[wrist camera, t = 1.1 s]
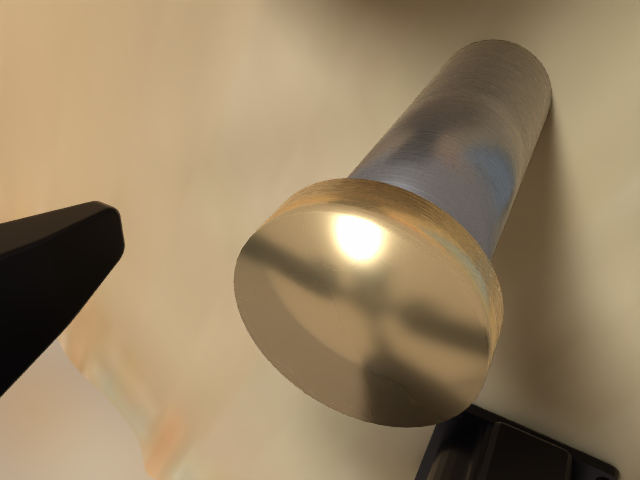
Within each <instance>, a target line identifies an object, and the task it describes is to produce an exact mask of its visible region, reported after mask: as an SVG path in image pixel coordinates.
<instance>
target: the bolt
mask: <svg viewBox="0 0 640 480" xmlns="http://www.w3.org/2000/svg"><path fill="white" fill-rule="evenodd" d="M550 105H551V84H550V80H549V77H548V75H547V72H546V70H545V68H544V67H543V65H542V64H541V62H540V61H539V60H538V59H537V58H536V57H535V56H534V55H533V54H532V53H531V52H529V51H528V50H526V49H525V48H523V47H521V46H519V45H517V44H514V43H511V42H508V41H502V40H485V41H480V42H476V43H473V44H470V45H468V46H466V47H464V48H463V49H461V50H460V51H458V52H457V53H456V54H455V55H454V56H452V57H451V58H450V60H449V61H448V62H447V63H446V64H445V65H444V67H443V68H442V69H441V70H440V71H439V72H438V73H437V75H436V76H435V77H434V78H433V79H432V80H431V82H430V83H429V84H428V85H427V86H426V87H425V89H424V90H423V91H422V92H421V93H420V94H419V96H418V97H417V98H416V99H415V100H414V101H413V102H412V104H411V105H410V106H409V107H408V108H407V109H406V111H405V112H404V113H403V114H402V115H401V116H400V118H399V119H398V120H397V121H396V122H395V123H394V124H393V126H392V127H391V128H390V129H389V130H388V131H387V133H386V134H385V135H384V136H383V137H382V138H381V140H380V141H379V142H378V143H377V144H376V145H375V146H374V148H373V149H372V150H371V151H370V152H369V153H368V155H367V156H366V157H365V158H364V159H363V160H362V162H361V163H360V164H359V165H358V166H357V167H356V168H355V170H354V171H353V172H352V173H351V174H350V175H349V177H348V178H343V179H333V180H327V181H323V182H319V183H315V184H313V185H310V186H308V187H306V188H303V189H302V190H300V191H298V192H297V193H295V194H294V195H292V196H291V197H290V198H289V199H288V200H287V201H286V202H285V203H283V204H282V205H281V206H280V207H279V209H278V210H277V211H276V212H275V213H274V214H273V215H272V216H271V217H270V218H269V219H268V220H267V221H266V222H265V223H264V224H263V225H262V226H261V227H260V228H259V229H258V230H257V231H256V232H255V233H254V234H253V235H252V236H251V237H250V238H249V240H248V241H247V243H246V244H245V245H244V247H243V248H242V250H241V252H240V254H239V257H238V259H237V263H236V267H235V272H234V291H235V297H236V302H237V306H238V309H239V312H240V315H241V318H242V320H243V322H244V324H245V326H246V328H247V331H248V332H249V334H250V336H251V337H252V339H253V341H254V342H255V344H256V345H257V346H258V348H259V349H260V350H261V352H262V353H263V354H264V356H265V357H266V358H267V359H268V360H269V361H270V362H271V364H272V365H273V366H274V367H275V368H276V369H277V370H278V371H279V372H280V373H281V374H282V375H283V376H285V377H286V378H287V379H288V380H289V381H291V382H292V383H293V384H294V385H295V386H297V387H298V388H299V389H301V390H302V391H304V392H305V393H306V394H308V395H309V396H311V397H313V398H314V399H316V400H317V401H319V402H321V403H323V404H324V405H326V406H328V407H330V408H332V409H334V410H336V411H339V412H341V413H343V414H346V415H348V416H351V417H354V418H357V419H360V420H363V421H366V422H370V423H374V424H379V425H385V426H391V427H423V426H429V425H434V424H437V423H441V422H444V421H447V420H449V419H451V418H453V417H455V416H457V415H459V414H460V413H461V412H463V411H464V410H465V409H467V408H468V407H469V406H470V405H471V404H472V402H473V401H474V400H475V399H476V398H477V396H478V394H479V393H480V391H481V389H482V388H483V385H484V382H485V379H486V376H487V372H488V369H489V366H490V363H491V360H492V357H493V354H494V350H495V347H496V344H497V341H498V338H499V335H500V331H501V328H502V323H503V315H504V310H503V297H502V292H501V288H500V284H499V281H498V278H497V276H496V273H495V271H494V268H493V267H492V265H491V263H490V262H491V259H492V257H493V254H494V252H495V249H496V246H497V244H498V241H499V239H500V236H501V233H502V231H503V228H504V226H505V223H506V221H507V218H508V215H509V213H510V210H511V208H512V205H513V202H514V200H515V197H516V195H517V192H518V190H519V187H520V184H521V182H522V179H523V177H524V174H525V171H526V169H527V166H528V164H529V161H530V159H531V156H532V153H533V151H534V148H535V146H536V143H537V140H538V138H539V135H540V133H541V130H542V128H543V125H544V122H545V120H546V117H547V115H548V112H549V109H550Z"/></svg>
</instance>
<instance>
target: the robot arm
mask: <svg viewBox="0 0 640 480" xmlns="http://www.w3.org/2000/svg"><path fill="white" fill-rule="evenodd" d="M124 248H125V242H124V236H123V230H122V223H121V217H120V213H119V211H118V210H117V209H116V208H114V207H112V206H109V205H107V204H105V203H102V202H99V201H91V202H87V203H83V204H79V205H75V206H71V207H67V208H63V209H58V210H54V211H50V212H46V213H42V214H38V215H34V216H30V217H26V218H22V219H18V220H13V221H9V222H5V223H1V224H0V397H1V396H2V395H3V394H4V393H5V392H6V391H7V390H8V389H9V388H10V387H11V386H12V385H13V384H14V383H15V381H17V379H18V378H19V377H20V376H21V375H22V374H23V373H24V372H25V371H26V370H27V369H28V368H29V367H30V366H31V365H32V364H33V363H34V362H35V360H36V359H37V358H38V357H39V356H40V355H41V354H42V353H43V352H44V351H45V350H46V349H47V348H48V347H49V346H50V345H51V344H52V343H53V341H54V340H55V339H56V338H57V337H58V336H59V335H60V334H61V333H62V332H63V331H64V330H65V328H66V327H67V326H68V325H69V324H70V323H71V322H72V320H73V319H74V318H75V317H76V315H77V314H78V313H79V312H80V310H81V309H82V308H83V307H84V305H85V304H86V303H87V301H88V300H89V299H90V297H91V296H92V295H93V294H94V292H95V291H96V290H97V288H98V287H99V286H100V285H101V283H102V282H103V281H104V279H105V278H106V277H107V275H108V274H109V273H110V272H111V270H112V269H113V268H114V266H115V265H116V264H117V263H118V261H119V260H120V258H121V257H122V255H123V252H124ZM415 480H620V473H619V471H618V470H617V469H616V468H615V467H613V466H611V465H609V464H607V463H605V462H603V461H600V460H598V459H596V458H593V457H591V456H589V455H587V454H584V453H582V452H580V451H577V450H575V449H573V448H571V447H568V446H566V445H564V444H561V443H559V442H557V441H554V440H552V439H550V438H548V437H545V436H543V435H541V434H538V433H536V432H534V431H532V430H529V429H527V428H525V427H522V426H520V425H518V424H516V423H513V422H511V421H509V420H506V419H504V418H502V417H500V416H497V415H495V414H493V413H490V412H488V411H486V410H483V409H481V408H479V407H477V406H474V405H472V404H471V405H470V406H469V407H468V408H467V409H465V410H464V411H463V412H461V413H460V414H459V415H457V416H455V417H453V418H451V419H449V420H447V421H444V422H441V423H437V424H436V427H435V429H434V432H433V434H432V437H431V439H430V442H429V444H428V447H427V449H426V452H425V454H424V457H423V460H422V462H421V465H420V467H419V470H418V472H417V475H416V477H415Z"/></svg>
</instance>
